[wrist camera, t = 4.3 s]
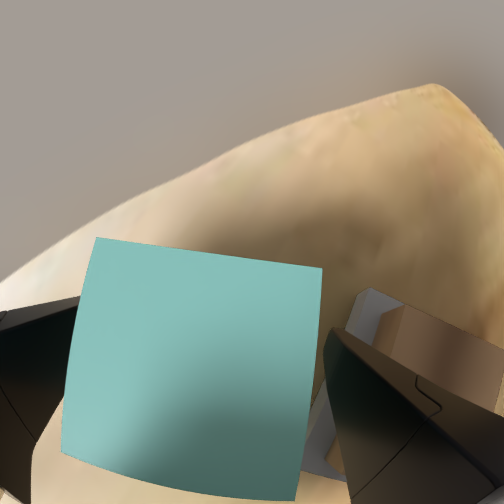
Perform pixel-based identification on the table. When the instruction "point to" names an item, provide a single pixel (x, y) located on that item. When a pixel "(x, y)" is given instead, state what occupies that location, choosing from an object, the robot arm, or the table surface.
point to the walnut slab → (437, 359)
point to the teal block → (193, 369)
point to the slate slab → (320, 415)
